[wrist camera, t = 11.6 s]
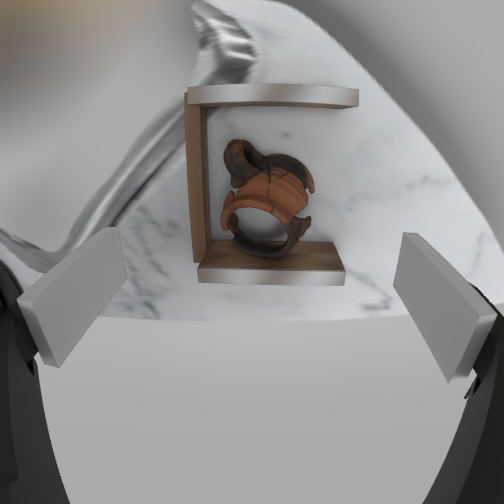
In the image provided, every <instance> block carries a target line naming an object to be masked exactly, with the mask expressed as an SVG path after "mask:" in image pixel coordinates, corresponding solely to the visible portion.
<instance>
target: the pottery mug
mask: <svg viewBox="0 0 504 504" xmlns="http://www.w3.org/2000/svg"><path fill="white" fill-rule="evenodd" d="M224 162H225V165H226V168H227V170H228V171H229V173H230V175H231V185H232V187H233V188H239V189H238V190H237V192H236V194H235V193H234V192H233V191H230V192H229V194H228V196H227V197H226V200H225V202H224V206H223V211H222V214H221V220H220V222H221V227H222V229H223V230H225V231H228V230H229V229H230V231H231V232H232V233H233V234H234V238H233V239H232V243H233V245H235V246H236V247H237V248H239V249H241V250H242V251H244V252H246V253H248V254H251V255H254V256H258V257H259V256H260V257H264V258H276V257H280V256H283V255H285V254H287V253H288V252H289V251H290V250H291V249H292V247H293V246H294V245H295V244H296V243H297V242H299V238H300V237H302V236H303V235H304V233H305V232H306V230H307V229H308V228H309V227H310V225H311V216H308V217H306V218H305V219H304V218H298V217H296V216H294V215H295V214H297V213H298V212H299V211H300V210H302V209H303V208H304V207H306V206H307V204H308V195H307V193H306V191H305V190H306V189H307V186H308V189H309V192H310V193H311V194H313V193H314V191H315V188H314V182H313V178H312V176H311V174H310V172H309V171H308V169H307V168H306V167H305V166H304V165H303V164H302V163H301V162H299V161H298V160H297V159H295V158H292V157H290V156H288V155H284V154H271V155H269V156H264V155H262V154H260V153H259V152H258V151H257V150H256V149H255V148H254V147H253V146H252V145H251V144H250V143H249V142H248V141H246V140H238V139H237V140H232V141H230V142H229V143H228V145H227V147H226V149H225V151H224ZM265 169H268V171H269V175H267V174H266V173H262V172H261V171H263V170H265ZM244 207H251V208H258V209H261V210H264V211H266V212H269V213H271V214H272V215H274V216H275V217H276V218H277V219H279V220H280V221H281V223H282V224H283V225H285V228H286V230H287V234H288V238H287V241H286V242H285V243H284V244H282V245H268V244H265V243H260V242H257V241H254V240H252V239H250V238H249V237H247V236H246V235H245V234H244V233H243V232H242V231H241V230H240V229H239V228H238V217H237V216H236V215H235V214H234V213H233V212H234V211H235V210H237V209H238V208H244Z"/></svg>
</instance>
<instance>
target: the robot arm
mask: <svg viewBox="0 0 504 504" xmlns="http://www.w3.org/2000/svg"><path fill="white" fill-rule="evenodd" d="M126 280H127V276H126V271H125V266H124V261H123V255H122V250H121V244H120V238H119V232H118V227H104V228H103V229H101V230H100V231H99V232H97V233H96V234H95V235H93V236H92V237H91V238H89V239H88V240H87V241H86V242H84V243H83V244H82V245H80V246H79V247H78V248H77V249H75V250H74V251H73V252H71V253H70V254H69V255H68V256H66V257H65V258H64V259H63V260H62V261H60V262H59V263H58V264H57V265H55V266H54V267H53V268H52V269H51V270H49V271H48V272H47V273H46V274H45V275H44V276H42V277H41V278H40V279H39V280H38V281H37V282H35V283H34V284H33V285H32V286H31V287H30V288H29V289H27V290H26V291H25V292H24V293H23V294H22V295H21V296H20V294H19V292H18V290H17V288H16V286H15V284H14V282H13V281H12V279H11V278H10V276H9V275H8V274H7V272H6V271H5V270H4V269H3V268H2V267H1V266H0V504H70V502H69V500H68V497H67V494H66V491H65V489H64V485H63V482H62V479H61V476H60V473H59V470H58V466H57V463H56V459H55V456H54V452H53V448H52V445H51V440H50V437H49V432H48V428H47V423H46V418H45V413H44V407H43V402H42V396H41V389H40V383H39V375H38V367H37V363H36V361H35V359H34V356H35V355H36V354H37V352H38V351H39V353H40V356H41V358H42V360H43V362H44V364H47V365H50V366H54V367H58V368H60V367H61V365H62V364H63V362H64V361H65V360H66V358H67V357H68V355H69V354H70V352H71V351H72V350H73V348H74V347H75V346H76V344H77V343H78V341H79V340H80V339H81V337H82V336H83V335H84V333H85V332H86V331H87V329H88V328H89V327H90V325H91V324H92V323H93V321H94V320H95V319H96V318H97V316H98V315H99V314H100V312H101V311H102V310H103V308H104V307H105V306H106V305H107V303H108V302H109V301H110V300H111V298H112V297H113V296H114V295H115V293H116V292H117V291H118V290H119V288H120V287H121V286H122V285H123V283H124V282H125V281H126ZM393 287H394V288H395V290H396V292H397V293H398V295H399V296H400V298H401V300H402V301H403V303H404V305H405V306H406V308H407V310H408V311H409V313H410V315H411V316H412V318H413V320H414V321H415V323H416V325H417V327H418V328H419V330H420V332H421V334H422V336H423V337H424V339H425V341H426V343H427V345H428V346H429V348H430V350H431V352H432V354H433V356H434V358H435V359H436V361H437V363H438V365H439V367H440V369H441V371H442V373H443V375H444V377H445V379H446V381H447V383H448V384H453V383H458V382H463V381H465V380H466V379H467V377H468V375H469V374H470V371H471V370H472V368H473V369H474V370H475V372H476V374H477V376H476V378H475V380H474V382H473V383H472V385H471V387H470V388H469V390H468V392H467V393H466V395H465V397H464V399H467V397H468V396H469V397H468V400H467V404H466V407H465V409H464V412H463V415H462V418H461V421H460V423H459V426H458V429H457V432H456V434H455V437H454V439H453V442H452V444H451V446H450V449H449V451H448V454H447V456H446V458H445V460H444V463H443V465H442V467H441V469H440V471H439V473H438V475H437V477H436V479H435V481H434V483H433V485H432V487H431V489H430V491H429V493H428V495H427V497H426V499H425V500H424V502H423V504H504V317H503V316H502V314H501V313H500V312H499V311H498V310H497V309H496V308H495V306H494V305H493V304H492V303H491V302H489V300H488V299H487V298H486V297H485V296H484V294H483V293H482V292H481V291H480V290H479V289H478V288H477V287H475V286H474V285H472V284H471V283H469V282H468V281H467V280H466V279H465V278H464V277H463V276H462V275H461V274H460V273H459V272H458V271H457V270H456V269H455V268H454V267H453V266H452V265H451V264H450V263H449V262H448V261H447V260H446V259H445V258H444V257H443V256H442V255H441V254H440V253H438V252H437V251H436V250H435V249H434V248H433V247H432V246H431V245H430V244H429V243H428V242H427V241H426V240H425V239H424V238H422V237H421V236H420V235H419V234H418V233H407V232H403V237H402V243H401V248H400V254H399V259H398V264H397V269H396V274H395V278H394V283H393Z"/></svg>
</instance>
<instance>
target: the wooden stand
mask: <svg viewBox="0 0 504 504" xmlns="http://www.w3.org/2000/svg"><path fill="white" fill-rule="evenodd" d="M225 106H298V107H318V108H332V109H345V108H352V107H358V106H359V89H352V88H343V87H332V86H319V85H301V84H226V85H209V86H196V87H188V92H187V93H185V134H186V158H187V178H188V194H189V209H190V223H191V236H192V247H193V258H194V263H200V264H199V266H198V268H197V271H198V282H202V283H229V284H262V285H313V286H344V282H345V275H346V271H345V268H344V266H343V264H342V261H341V259H340V257H339V254H338V252H337V250H336V248H335V245H334V243H333V242H297V243H296V244H295V245H294V246H293V247H292V249H291V250H290V251H289V252H288V253H287V254H285V255H283V256H280V257H276V258H264V257H260V256H259V257H258V256H254V255H251V254H248V253H246V252H244V251H242V250H241V249H239V248H237V247H236V246H235V245H233V243H232V240H211V222H210V203H209V180H208V154H207V116H206V107H225ZM257 242H260V243H265V244H268V245H282V244H284V243H285V242H286V241H257Z"/></svg>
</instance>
